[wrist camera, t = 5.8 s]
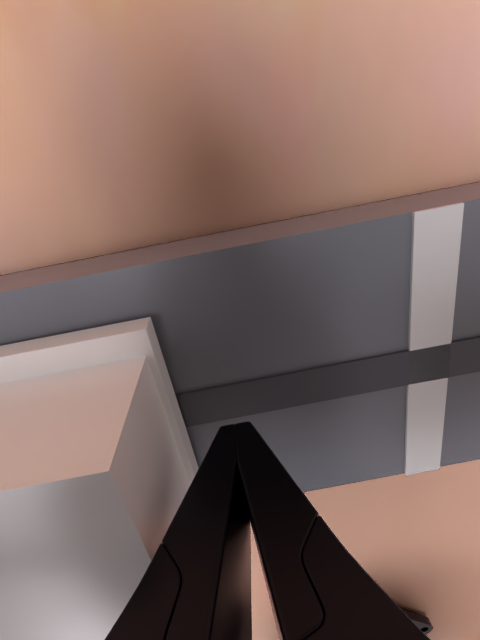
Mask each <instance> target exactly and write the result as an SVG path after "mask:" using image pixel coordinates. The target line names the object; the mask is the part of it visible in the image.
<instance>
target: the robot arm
mask: <svg viewBox="0 0 480 640" xmlns="http://www.w3.org/2000/svg"><path fill="white" fill-rule="evenodd" d="M250 522H251V526H252V530H253V534H254V538H255V542H256V546H257V550H258V554H259V558H260V562H261V566H262V570H263V574H264V578H265V582H266V586H267V590H268V594H269V598H270V602H271V606H272V610H273V614H274V618H275V622H276V626H277V630H278V634H279V638H280V640H430V639H429V638H428V637H427V636H426V634H428V633H429V632H430V631H431V630H432V629H433V627H432V625H431V623H430V621H429V618H428V617H425V616H422V615H419V614H416V613H413V612H409V611H406V610H403V609H401V608H400V607H399V606H398V605H397V604H396V603H395V602H394V601H393V600H392V599H391V598H390V597H389V596H388V595H387V594H386V593H385V591H384V590H383V589H382V588H381V587H380V586H379V585H378V584H377V583H376V582H375V581H374V580H373V579H372V578H371V577H370V576H369V574H368V573H367V572H366V571H365V570H364V569H363V568H362V567H361V566H360V565H359V563H358V562H357V561H356V560H355V559H354V558H353V557H352V556H351V554H350V553H349V552H348V551H347V550H346V549H345V547H344V546H343V545H342V544H341V542H340V541H339V540H338V539H337V537H336V536H335V535H334V533H333V532H332V531H331V530H330V528H329V527H328V526H327V524H326V523H325V522H324V520H323V519H322V517H321V516H319V514H318V512H317V511H316V510H315V508H314V507H313V506H312V504H311V503H310V501H309V500H308V499H307V497H306V496H305V495H304V493H303V492H302V491H301V489H300V488H299V487H298V485H297V484H296V483H295V481H294V480H293V478H292V477H291V476H290V474H289V473H288V472H287V470H286V469H285V468H284V466H283V465H282V464H281V462H280V461H279V459H278V458H277V457H276V455H275V454H274V453H273V451H272V450H271V449H270V447H269V446H268V445H267V443H266V442H265V440H264V439H263V438H262V436H261V435H260V434H259V432H258V431H257V430H256V428H255V427H254V426H253V424H252V423H251V422H249V421H247V422H241V423H236V424H230V425H224V426H221V427H220V428H219V430H218V432H217V434H216V436H215V438H214V439H213V441H212V443H211V445H210V447H209V449H208V451H207V453H206V455H205V457H204V459H203V461H202V463H201V465H200V467H199V469H198V471H197V473H196V475H195V477H194V479H193V481H192V483H191V485H190V487H189V489H188V490H187V492H186V494H185V496H184V498H183V500H182V502H181V504H180V506H179V508H178V510H177V512H176V514H175V516H174V518H173V520H172V522H171V524H170V526H169V528H168V530H167V532H166V534H165V536H164V538H163V540H162V543H163V544H160V545H159V547H158V549H157V551H156V553H155V555H154V557H153V559H152V561H151V563H150V565H149V566H148V568H147V570H146V572H145V574H144V576H143V577H142V579H141V581H140V583H139V585H138V587H137V588H136V590H135V591H134V593H133V595H132V596H131V598H130V600H129V601H128V603H127V605H126V606H125V608H124V610H123V611H122V613H121V615H120V616H119V618H118V619H117V621H116V622H115V624H114V626H113V627H112V629H111V630H110V632H109V633H108V635H107V637H106V638H105V640H252V619H251V540H250Z"/></svg>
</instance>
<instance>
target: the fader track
mask: <svg viewBox="0 0 480 640" xmlns="http://www.w3.org/2000/svg"><path fill="white" fill-rule="evenodd" d="M147 317H151V320H152V323H153V326H154V330H155V333H156V336H157V339H158V342H159V345H160V348H161V352H162V355H163V358H164V361H165V364H166V367H167V370H168V373H169V377H170V380H171V383H172V386H173V389H174V392H175V395H176V399H177V402H178V405H179V408H180V411H181V414H182V417H183V420H184V424H185V427H186V430H187V433H188V436H189V439H190V442H191V446H192V449H193V452H194V455H195V458H196V461H197V464H198V467H200V465H201V463H202V461H203V459H204V457H205V455H206V453H207V451H208V449H209V447H210V445H211V443H212V441H213V439H214V438H215V436H216V434H217V432H218V430H219V428H220V427H221V426H224V425H230V424H236V423H241V422H247V421H249V422H251V423H252V424H253V426H254V427H255V428H256V430H257V431H258V432H259V434H260V435H261V436H262V438H263V439H264V440H265V442H266V443H267V445H268V446H269V447H270V449H271V450H272V451H273V453H274V454H275V455H276V457H277V458H278V459H279V461H280V462H281V464H282V465H283V466H284V468H285V469H286V470H287V472H288V473H289V474H290V476H291V477H292V478H293V480H294V481H295V483H296V484H297V485H298V487H299V488H300V489H301V491H302V492H307V491H312V490H317V489H323V488H328V487H333V486H339V485H344V484H350V483H355V482H360V481H366V480H371V479H376V478H382V477H387V476H392V475H398V474H403V473H404V474H405V476H406V475H411V474H417V473H422V472H428V471H433V470H438V469H440V466H446V465H451V464H456V463H462V462H467V461H472V460H478V459H480V182H476V183H471V184H466V185H461V186H456V187H451V188H445V189H440V190H435V191H430V192H425V193H420V194H415V195H410V196H405V197H399V198H394V199H389V200H384V201H379V202H374V203H369V204H364V205H359V206H354V207H348V208H343V209H338V210H333V211H328V212H323V213H318V214H313V215H308V216H302V217H297V218H292V219H287V220H282V221H277V222H272V223H267V224H262V225H256V226H251V227H246V228H241V229H236V230H231V231H226V232H221V233H216V234H211V235H205V236H200V237H195V238H190V239H185V240H180V241H175V242H170V243H165V244H159V245H154V246H149V247H144V248H139V249H134V250H129V251H124V252H119V253H113V254H108V255H103V256H98V257H93V258H88V259H83V260H78V261H73V262H68V263H62V264H57V265H52V266H47V267H42V268H37V269H32V270H27V271H22V272H16V273H11V274H6V275H1V276H0V346H2V345H7V344H13V343H18V342H23V341H28V340H33V339H38V338H44V337H49V336H54V335H59V334H64V333H69V332H75V331H80V330H85V329H90V328H95V327H100V326H106V325H111V324H116V323H121V322H126V321H131V320H137V319H142V318H147Z"/></svg>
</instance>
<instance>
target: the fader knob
mask: <svg viewBox="0 0 480 640" xmlns="http://www.w3.org/2000/svg"><path fill="white" fill-rule="evenodd" d="M198 469H199V467H198V464H197V461H196V458H195V455H194V452H193V449H192V446H191V442H190V439H189V436H188V433H187V430H186V427H185V424H184V420H183V417H182V414H181V411H180V408H179V405H178V402H177V399H176V395H175V392H174V389H173V386H172V383H171V380H170V377H169V373H168V370H167V367H166V364H165V361H164V358H163V355H162V352H161V348H160V345H159V342H158V339H157V336H156V333H155V330H154V326H153V323H152V320H151V317H147V318H142V319H137V320H131V321H126V322H121V323H116V324H111V325H106V326H100V327H95V328H90V329H85V330H80V331H75V332H69V333H64V334H59V335H54V336H49V337H44V338H38V339H33V340H28V341H23V342H18V343H13V344H7V345H2V346H0V640H105V638H106V637H107V635H108V633H109V632H110V630H111V629H112V627H113V626H114V624H115V622H116V621H117V619H118V618H119V616H120V615H121V613H122V611H123V610H124V608H125V606H126V605H127V603H128V601H129V600H130V598H131V596H132V595H133V593H134V591H135V590H136V588H137V587H138V585H139V583H140V581H141V579H142V577H143V576H144V574H145V572H146V570H147V568H148V566H149V565H150V563H151V561H152V559H153V557H154V555H155V553H156V551H157V549H158V547H159V545H160V544H163V543H162V540H163V538H164V536H165V534H166V532H167V530H168V528H169V526H170V524H171V522H172V520H173V518H174V516H175V514H176V512H177V510H178V508H179V506H180V504H181V502H182V500H183V498H184V496H185V494H186V492H187V490H188V489H189V487H190V485H191V483H192V481H193V479H194V477H195V475H196V473H197V471H198Z"/></svg>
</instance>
